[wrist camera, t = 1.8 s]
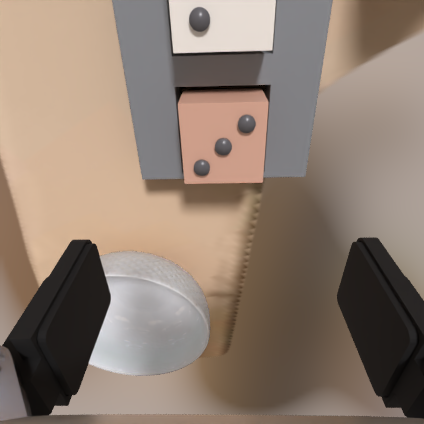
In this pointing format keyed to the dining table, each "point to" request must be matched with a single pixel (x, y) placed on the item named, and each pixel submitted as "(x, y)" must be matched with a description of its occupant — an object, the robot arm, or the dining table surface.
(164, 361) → the cereal bowl
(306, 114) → the grey flat board
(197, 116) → the pink block
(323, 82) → the dining table surface
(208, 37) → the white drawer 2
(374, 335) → the robot arm
